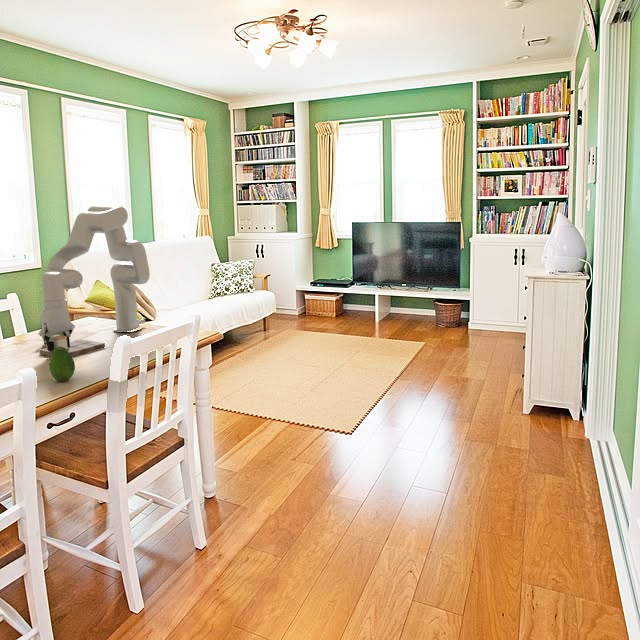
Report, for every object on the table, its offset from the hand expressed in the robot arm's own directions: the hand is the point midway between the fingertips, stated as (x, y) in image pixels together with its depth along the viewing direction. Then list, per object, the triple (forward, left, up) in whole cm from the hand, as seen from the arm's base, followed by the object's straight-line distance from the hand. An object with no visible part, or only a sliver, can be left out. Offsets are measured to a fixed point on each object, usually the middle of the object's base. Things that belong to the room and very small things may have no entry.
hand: (58, 348), depth 229 cm
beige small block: (0, 0, 0) cm, 0 cm away
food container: (-14, -18, -3) cm, 23 cm away
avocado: (+22, +29, -3) cm, 36 cm away
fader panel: (-6, 0, -3) cm, 7 cm away
